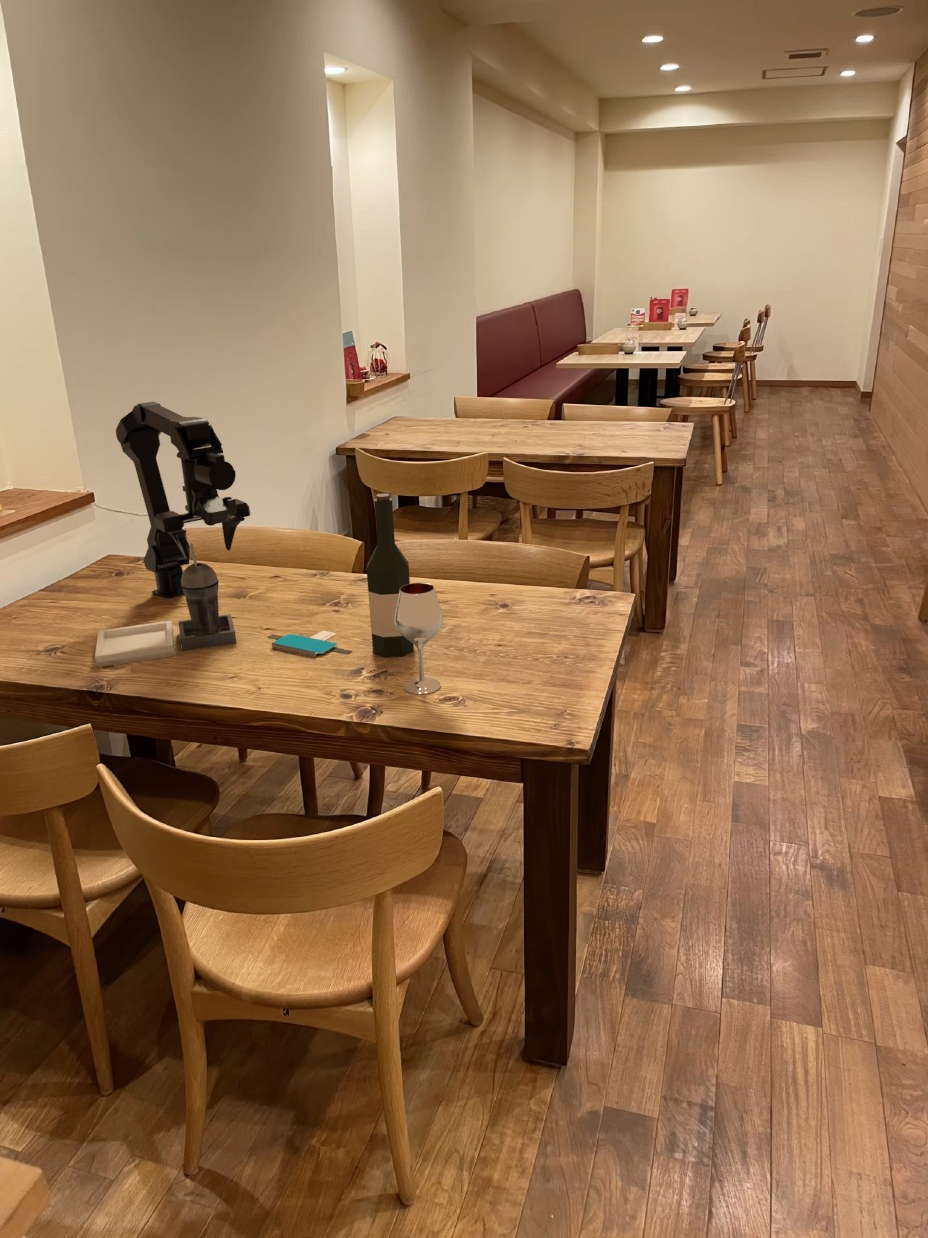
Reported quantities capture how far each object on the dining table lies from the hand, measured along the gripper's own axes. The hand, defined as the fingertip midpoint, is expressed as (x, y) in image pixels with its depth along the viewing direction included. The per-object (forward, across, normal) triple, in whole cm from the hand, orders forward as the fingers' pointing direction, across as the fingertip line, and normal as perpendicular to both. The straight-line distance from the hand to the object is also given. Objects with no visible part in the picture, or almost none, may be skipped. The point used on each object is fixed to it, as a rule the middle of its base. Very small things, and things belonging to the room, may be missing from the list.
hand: (208, 554), depth 189 cm
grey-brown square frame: (+13, -8, -13) cm, 20 cm away
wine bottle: (+12, +16, -44) cm, 48 cm away
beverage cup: (+13, -8, -13) cm, 20 cm away
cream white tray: (+13, -20, -8) cm, 25 cm away
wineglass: (+12, +10, -61) cm, 63 cm away
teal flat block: (+13, +6, -30) cm, 33 cm away
